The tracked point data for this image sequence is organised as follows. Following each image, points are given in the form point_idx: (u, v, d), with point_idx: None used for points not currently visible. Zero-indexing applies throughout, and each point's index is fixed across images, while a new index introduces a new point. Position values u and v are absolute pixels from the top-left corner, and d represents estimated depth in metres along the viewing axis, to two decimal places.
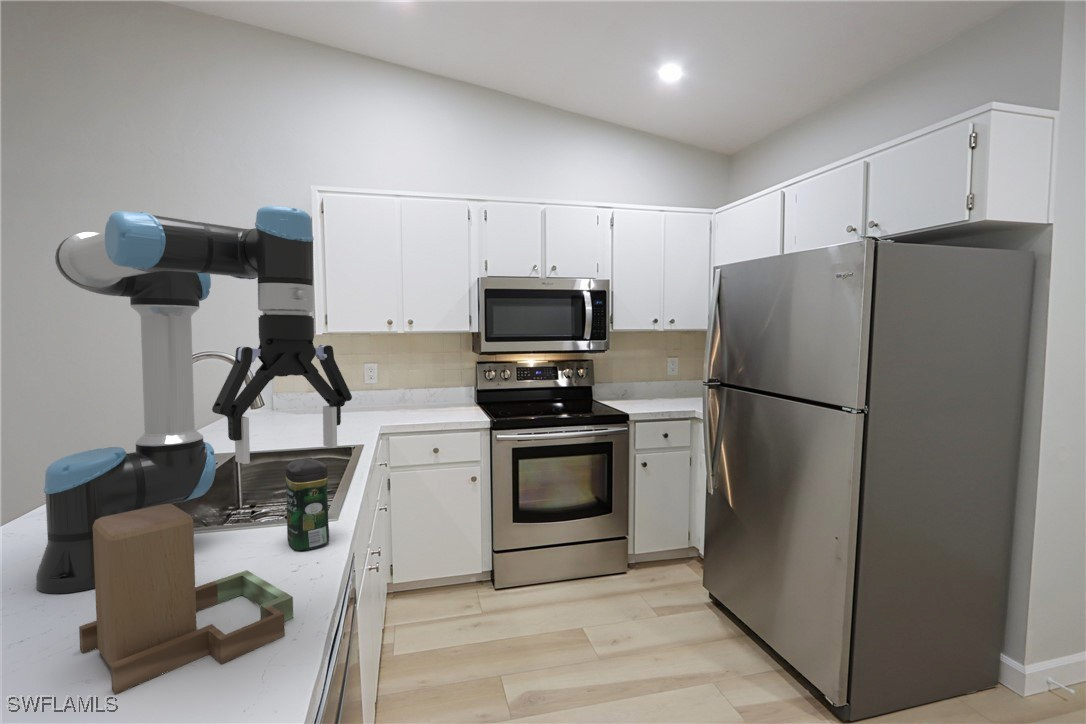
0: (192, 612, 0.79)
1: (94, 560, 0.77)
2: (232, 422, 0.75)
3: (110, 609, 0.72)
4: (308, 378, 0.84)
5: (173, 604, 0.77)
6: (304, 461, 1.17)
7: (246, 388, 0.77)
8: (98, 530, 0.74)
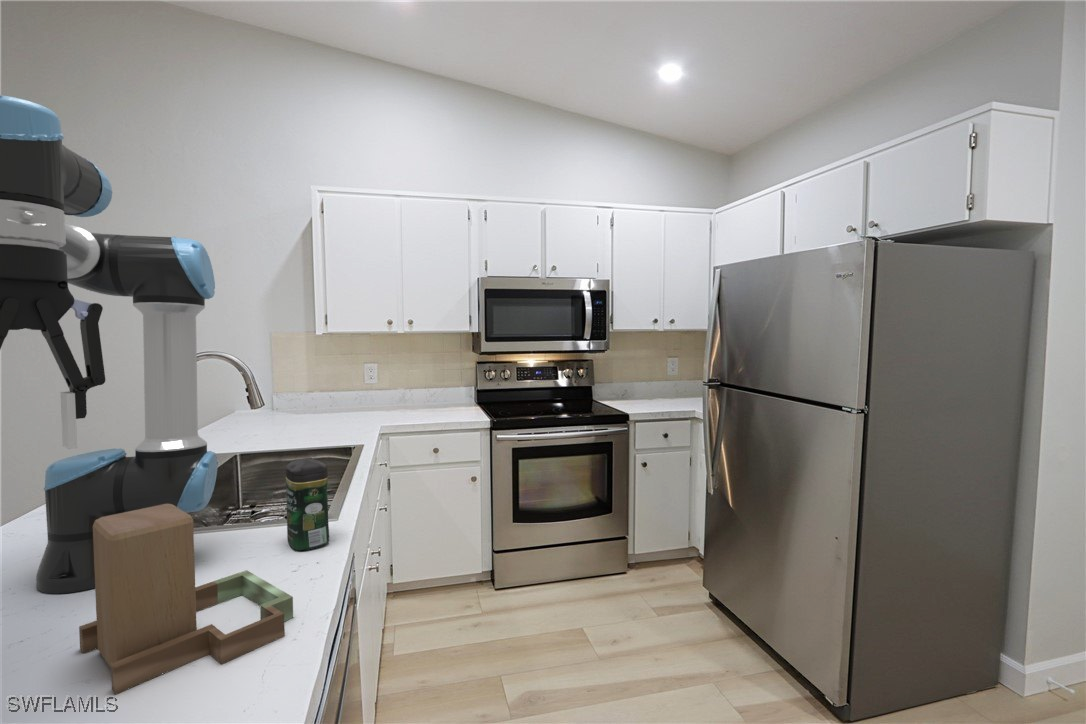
0: (192, 612, 0.79)
1: (94, 560, 0.77)
2: None
3: (110, 609, 0.72)
4: (48, 341, 0.62)
5: (173, 604, 0.77)
6: (304, 461, 1.17)
7: None
8: (98, 530, 0.74)
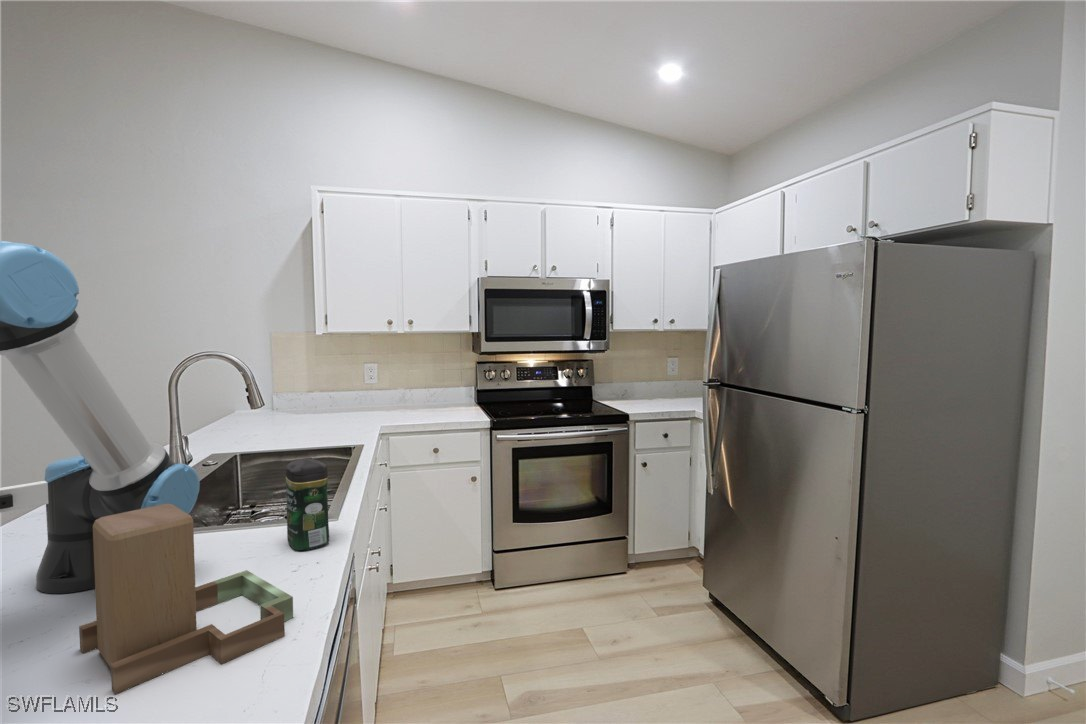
0: (192, 612, 0.79)
1: (94, 560, 0.76)
2: None
3: (110, 609, 0.72)
4: None
5: (173, 605, 0.77)
6: (304, 461, 1.17)
7: None
8: (98, 530, 0.74)
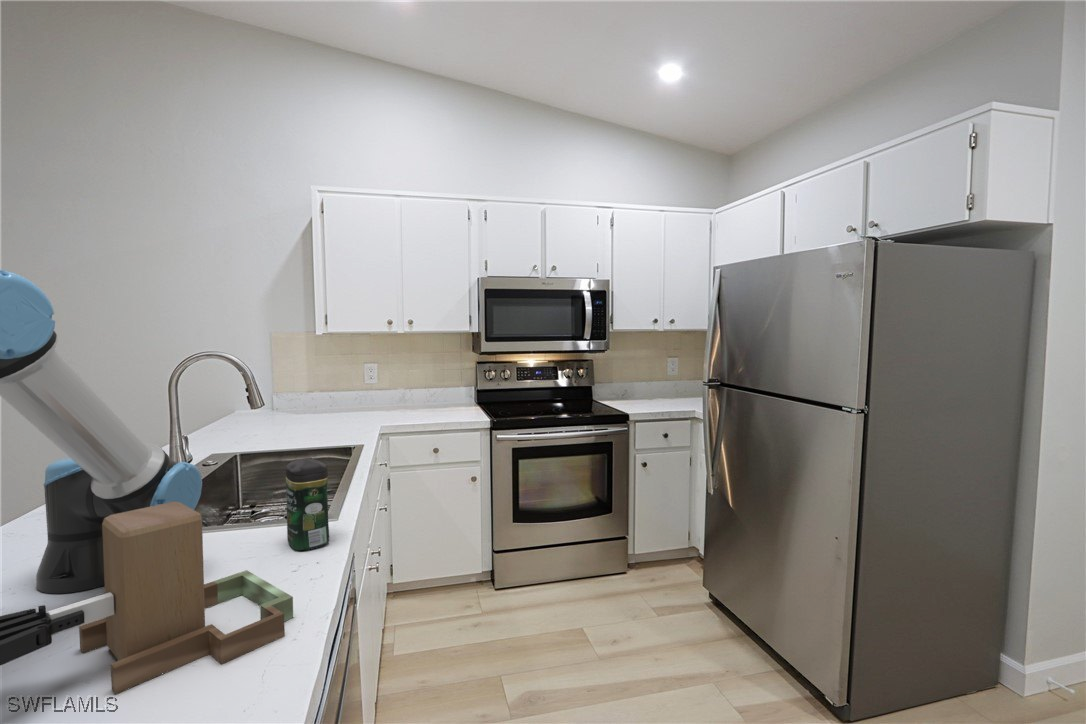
0: (201, 608, 0.80)
1: (103, 557, 0.77)
2: None
3: (121, 605, 0.73)
4: None
5: (183, 601, 0.78)
6: (304, 461, 1.17)
7: None
8: (108, 527, 0.75)
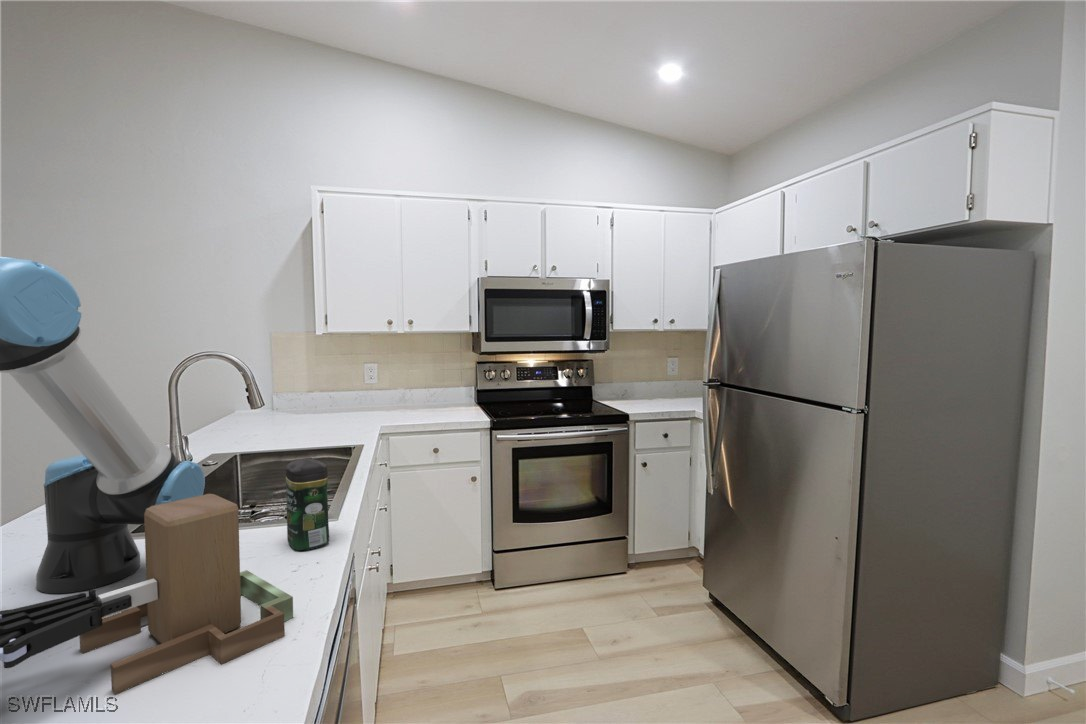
0: (238, 594, 0.84)
1: (145, 546, 0.81)
2: None
3: (166, 590, 0.77)
4: None
5: (221, 587, 0.82)
6: (304, 461, 1.17)
7: None
8: (151, 517, 0.79)
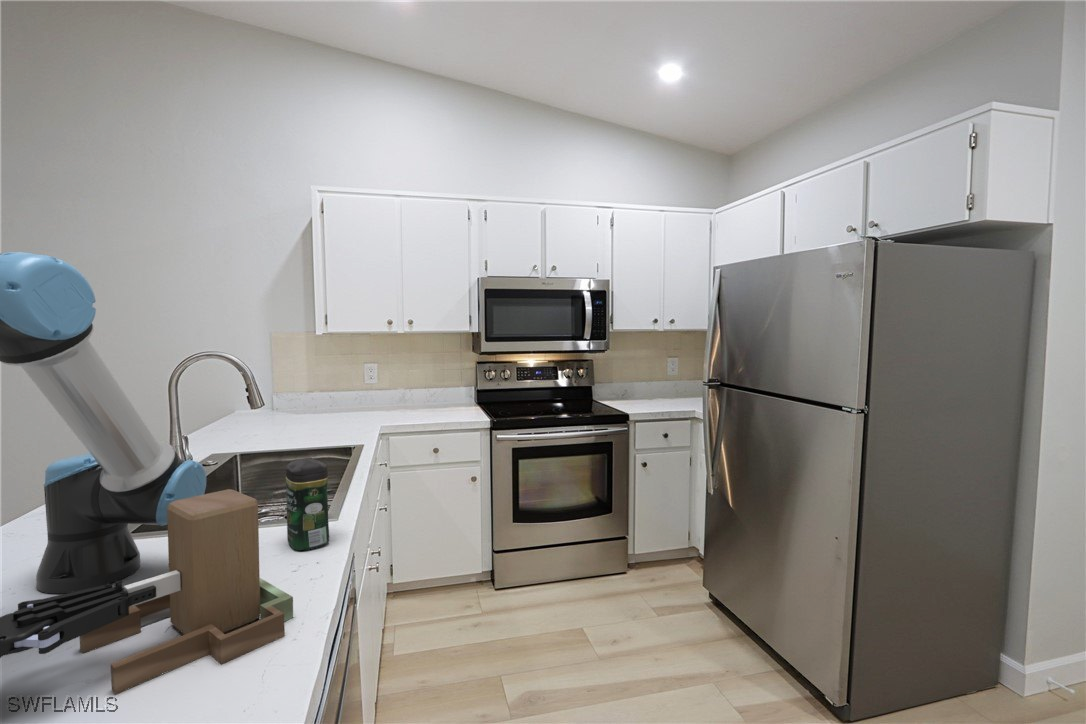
0: (257, 586, 0.86)
1: (168, 540, 0.84)
2: None
3: (189, 582, 0.80)
4: None
5: (242, 579, 0.84)
6: (304, 461, 1.17)
7: None
8: (175, 512, 0.82)
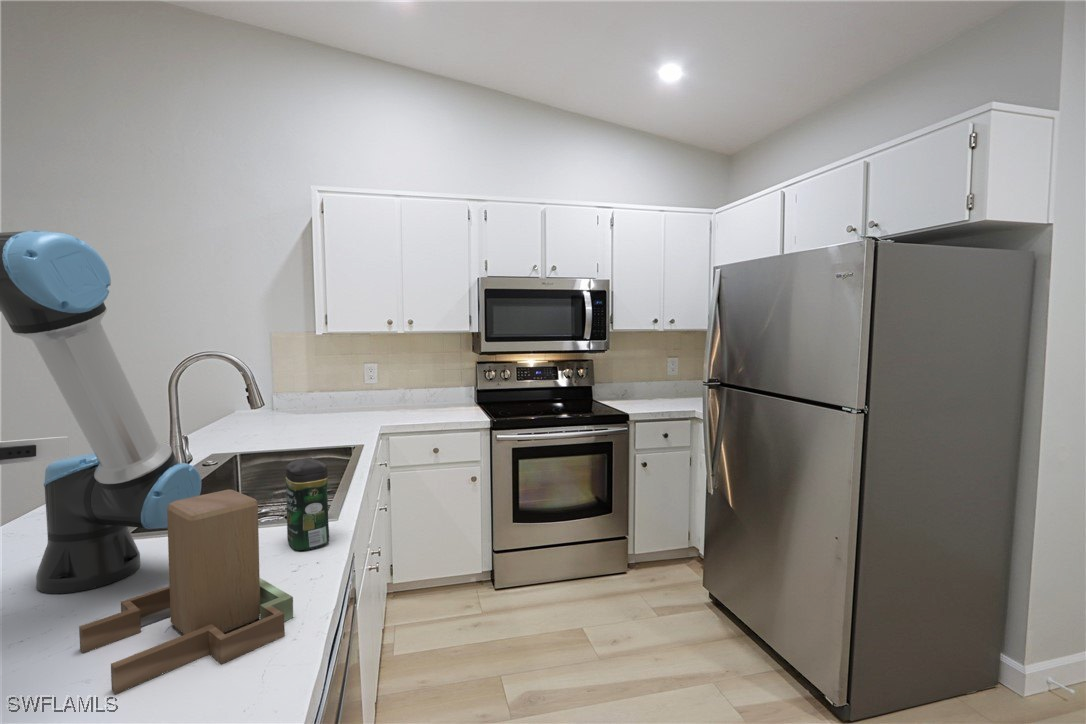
0: (257, 587, 0.86)
1: (168, 540, 0.84)
2: None
3: (189, 582, 0.80)
4: None
5: (242, 579, 0.84)
6: (304, 461, 1.17)
7: None
8: (175, 512, 0.82)
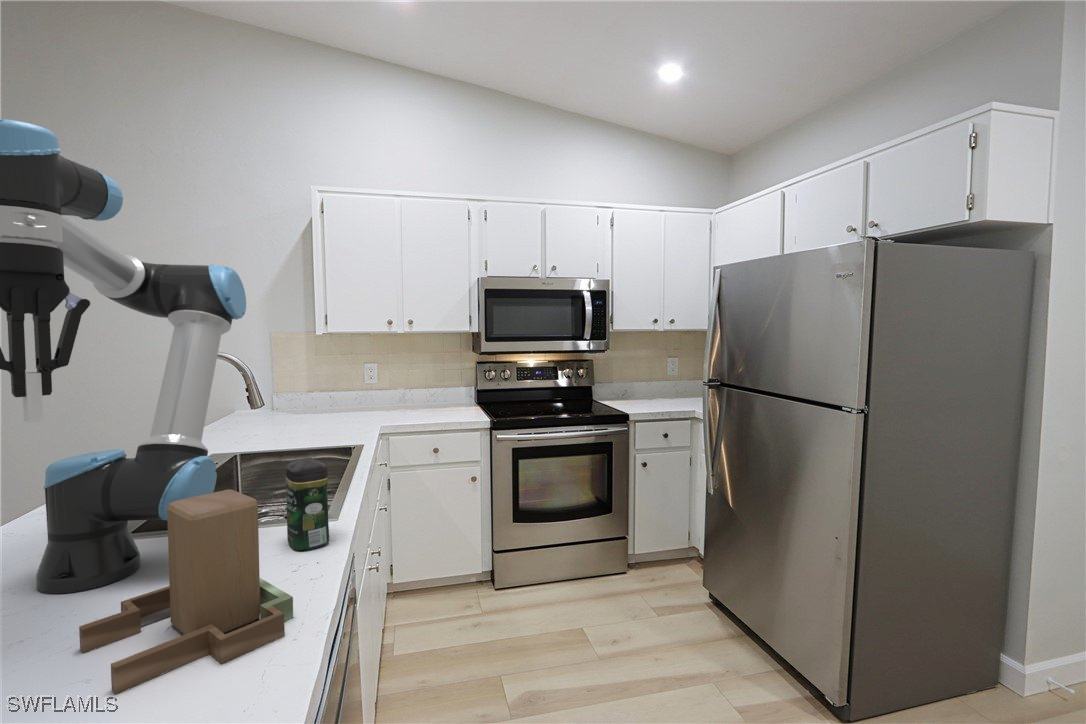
0: (257, 587, 0.86)
1: (168, 540, 0.84)
2: (13, 377, 0.71)
3: (189, 582, 0.80)
4: (35, 324, 0.73)
5: (242, 579, 0.84)
6: (304, 461, 1.17)
7: (9, 340, 0.71)
8: (175, 512, 0.82)
